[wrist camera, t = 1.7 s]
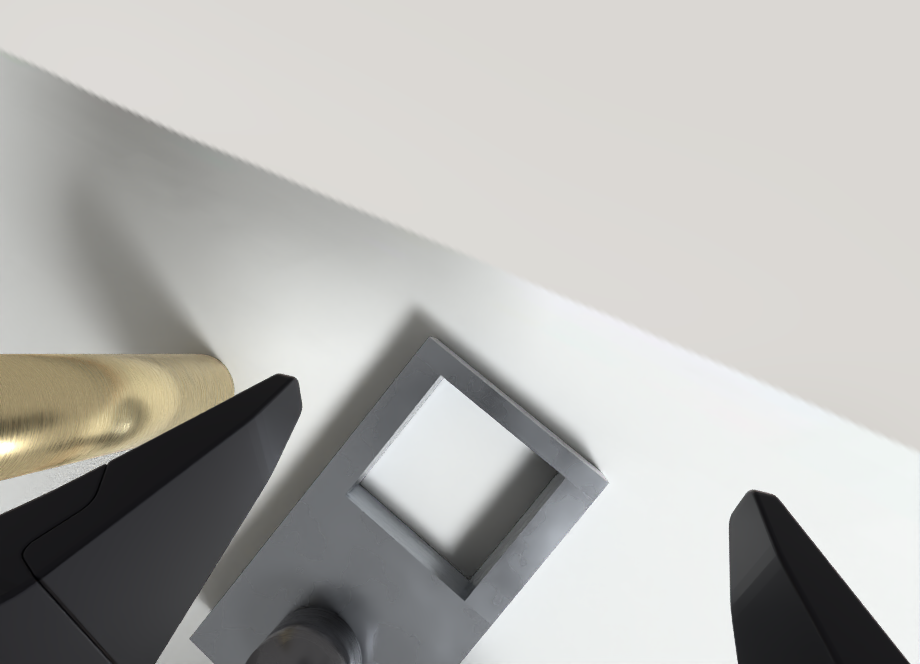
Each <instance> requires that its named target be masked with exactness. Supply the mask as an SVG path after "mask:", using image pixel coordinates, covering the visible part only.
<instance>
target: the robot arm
mask: <svg viewBox="0 0 920 664" xmlns="http://www.w3.org/2000/svg"><path fill="white" fill-rule="evenodd" d="M301 411H302V400H301V394H300V388H299V383H298V380H297V379H296V378H295V377H293V376H289V375H285V374H275V375H273V376H271V377H269V378H267V379H265V380H264V381H262V382H260V383H258V384H256V385H254V386H252V387H250V388H248V389H246V390H245V391H243V392H241V393H239V394H237V395H235V396H233V397H231V398H229V399H227V400H226V401H224V402H222V403H220V404H218V405H216V406H214V407H212V408H210V409H208V410H206V411H205V412H203V413H201V414H199V415H197V416H195V417H193V418H191V419H189V420H187V421H186V422H184V423H182V424H180V425H178V426H176V427H174V428H172V429H170V430H168V431H167V432H165V433H163V434H161V435H159V436H157V437H155V438H153V439H151V440H149V441H147V442H146V443H144V444H142V445H140V446H138V447H136V448H134V449H132V450H130V451H128V452H127V453H125V454H123V455H121V456H119V457H117V458H115V459H113V460H111V461H110V462H108V465H107V464H103V465H102V466H100V467H98V468H96V469H94V470H92V471H90V472H88V473H86V474H84V475H82V476H80V477H78V478H76V479H75V480H73V481H71V482H69V483H67V484H65V485H63V486H61V487H59V488H57V489H55V490H53V491H51V492H48V493H46V494H44V495H42V496H40V497H38V498H35V499H33V500H31V501H29V502H27V503H25V504H23V505H20V506H18V507H16V508H14V509H12V510H9V511H7V512H5V513H3V514H0V664H155V663H156V661H157V660H158V658H159V656H160V655H161V653H162V652H163V650H164V648H165V647H166V645H167V644H168V642H169V640H170V639H171V637H172V635H173V634H174V632H175V631H176V629H177V627H178V626H179V624H180V623H181V621H182V619H183V618H184V616H185V614H186V613H187V611H188V610H189V608H190V606H191V605H192V603H193V602H194V600H195V598H196V597H197V595H198V594H199V592H200V590H201V589H202V587H203V585H204V584H205V582H206V581H207V579H208V577H209V576H210V574H211V573H212V571H213V569H214V568H215V566H216V564H217V563H218V561H219V560H220V558H221V556H222V555H223V553H224V552H225V550H226V548H227V547H228V545H229V543H230V542H231V540H232V539H233V537H234V535H235V534H236V532H237V531H238V529H239V527H240V526H241V524H242V522H243V521H244V519H245V518H246V516H247V514H248V513H249V511H250V510H251V508H252V506H253V505H254V503H255V501H256V500H257V498H258V497H259V495H260V493H261V492H262V490H263V489H264V487H265V485H266V484H267V482H268V480H269V478H270V477H271V475H272V473H273V471H274V469H275V467H276V465H277V463H278V461H279V459H280V456H281V454H282V452H283V450H284V448H285V446H286V444H287V442H288V440H289V438H290V435H291V433H292V431H293V429H294V427H295V425H296V423H297V421H298V419H299V417H300V414H301ZM729 562H730V603H731V615H732V624H733V631H734V638H735V646H736V653H737V660H738V664H910V663H909V662H908V660H907V659H906V658H905V657H904V655H903V654H902V653H901V652H900V650H899V649H898V648H897V647H896V645H895V644H894V643H893V642H892V640H891V639H890V638H889V637H888V635H887V634H886V633H885V632H884V630H883V629H882V628H881V626H880V625H879V624H878V623H877V621H876V620H875V619H874V618H873V616H872V615H871V614H870V613H869V611H868V610H867V609H866V608H865V606H864V605H863V604H862V603H861V601H860V600H859V599H858V598H857V596H856V595H855V594H854V593H853V591H852V590H851V589H850V588H849V586H848V585H847V584H846V583H845V581H844V580H843V579H842V578H841V576H840V575H839V574H838V573H837V571H836V570H835V569H834V567H833V566H832V565H831V564H830V562H829V561H828V560H827V559H826V557H825V556H824V555H823V554H822V552H821V551H820V550H819V549H818V547H817V546H816V545H815V544H814V542H813V541H812V540H811V539H810V537H809V536H808V535H807V534H806V532H805V531H804V530H803V529H802V527H801V526H800V525H799V524H798V522H797V521H796V520H795V519H794V517H793V516H792V515H791V514H790V512H789V511H788V510H787V508H786V507H785V506H784V505H783V503H782V502H781V501H780V500H779V499H778V498H777V497H776V496H775V495H773V494H770V493H766V492H762V491H758V490H750V491H748V492H747V493H746V494H745V496H744V497H743V498H742V500H741V501H740V503H739V504H738V506H737V507H736V508H735V510H734V511H733V513H732V515H731V517H730V521H729Z"/></svg>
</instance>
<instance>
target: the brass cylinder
mask: <svg viewBox="0 0 920 664" xmlns="http://www.w3.org/2000/svg"><path fill="white" fill-rule="evenodd" d="M233 396H234V384H233V380H232V377H231V375H230V373H229V371H228V370H227V368H226V367H225V366H224V365H223V364H222V363H221V362H220V361H219V360H217V359H216V358H214V357H211V356H209V355H205V354H0V481H1V480H5V479H9V478H13V477H17V476H22V475H26V474H30V473H34V472H38V471H42V470H46V469H50V468H54V467H59V466H63V465H67V464H71V463H75V462H79V461H83V460H87V459H91V458H95V457H100V456H104V455H108V454H112V453H116V452H120V451H124V450H128V449H132V448H136V447H138V446H140V445H142V444H144V443H146V442H147V441H149V440H151V439H153V438H155V437H157V436H159V435H161V434H163V433H165V432H167V431H168V430H170V429H172V428H174V427H176V426H178V425H180V424H182V423H184V422H186V421H187V420H189V419H191V418H193V417H195V416H197V415H199V414H201V413H203V412H205V411H206V410H208V409H210V408H212V407H214V406H216V405H218V404H220V403H222V402H224V401H226V400H227V399H229V398H231V397H233Z"/></svg>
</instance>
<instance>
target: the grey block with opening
mask: <svg viewBox="0 0 920 664" xmlns="http://www.w3.org/2000/svg"><path fill="white" fill-rule="evenodd" d="M443 378H445V379H446V380H447V381H449V382H450V383H451V384H452V385H454V386H455V387H456V388H457V389H458V390H460V391H461V392H462V393H463V394H464V395H466V396H467V397H468V398H469V399H471V400H472V401H473V402H474V403H475V404H477V405H478V406H479V407H480V408H482V409H483V410H484V411H485V412H486V413H488V414H489V415H490V416H491V417H492V418H494V419H495V420H496V421H497V422H499V423H500V424H501V425H502V426H503V427H505V428H506V429H507V430H508V431H509V432H511V433H512V434H513V435H514V436H516V437H517V438H518V439H519V440H520V441H522V442H523V443H524V444H525V445H526V446H528V447H529V448H530V449H531V450H533V451H534V452H535V453H536V454H537V455H539V456H540V457H541V458H542V459H544V460H545V461H546V462H547V463H548V464H550V465H551V466H552V467H553V468H554V469H556V470H557V471H558V473H557V474H556V476H555V477H554V478H553V479H552V480H551V482H550V483H549V484H548V485H547V487H546V488H545V489H544V490H543V491H542V493H541V494H540V495H539V496H538V498H537V499H536V500H535V501H534V502H533V504H532V505H531V506H530V507H529V509H528V510H527V511H526V512H525V513H524V515H523V516H522V517H521V518H520V520H519V521H518V522H517V523H516V524H515V526H514V527H513V528H512V529H511V531H510V532H509V533H508V534H507V535H506V537H505V538H504V539H503V540H502V542H501V543H500V544H499V545H498V546H497V548H496V549H495V550H494V551H493V553H492V554H491V555H490V556H489V557H488V559H487V560H486V561H485V562H484V564H483V565H482V566H481V567H480V568H479V570H478V571H477V572H476V573H475V575H474V576H473V577H472V578H471V579H470V581H469V580H468V579H467V578H466V577H464V576H463V575H462V574H461V573H460V572H459V571H458V570H457V569H455V568H454V567H453V566H452V565H451V564H450V563H449V562H447V561H446V560H445V559H444V558H443V557H442V556H441V555H439V554H438V553H437V552H436V551H435V550H434V549H433V548H432V547H430V546H429V545H428V544H427V543H426V542H425V541H424V540H422V539H421V538H420V537H419V536H418V535H417V534H416V533H414V532H413V531H412V530H411V529H410V528H409V527H408V526H406V525H405V524H404V523H403V522H402V521H401V520H400V519H399V518H397V517H396V516H395V515H394V514H393V513H392V512H391V511H389V510H388V509H387V508H386V507H385V506H384V505H383V504H381V503H380V502H379V501H378V500H377V499H376V498H375V497H373V496H372V495H371V494H370V493H369V492H368V491H367V490H366V489H364V488H363V487H362V486H361V485H360V484H359V483H360V482H361V481H362V480H363V478H364V477H365V476H366V475H367V473H368V472H369V471H370V470H371V468H372V467H373V466H374V465H375V463H376V462H377V461H378V460H379V458H380V457H381V456H382V455H383V453H384V452H385V451H386V450H387V448H388V447H389V446H390V445H391V443H392V442H393V441H394V440H395V438H396V437H397V436H398V435H399V433H400V432H401V431H402V430H403V428H404V427H405V426H406V425H407V423H408V422H409V421H410V420H411V418H412V417H413V416H414V415H415V413H416V412H417V411H418V410H419V408H420V407H421V406H422V405H423V403H424V402H425V401H426V399H427V398H428V397H429V396H430V394H431V393H432V392H433V391H434V389H435V388H436V387H437V386H438V384H439V383H440V382H441V381H442V379H443ZM607 485H608V481H607V480H606V478H605V477H604V475H603V474H602V472H601V471H600V470H598V469H597V468H596V467H595V466H593V465H592V464H591V463H590V462H588V461H587V460H586V459H585V458H584V457H582V456H581V455H580V454H579V453H577V452H576V451H575V450H574V449H572V448H571V447H570V446H569V445H568V444H566V443H565V442H564V441H563V440H561V439H560V438H559V437H558V436H556V435H555V434H554V433H553V432H552V431H550V430H549V429H548V428H547V427H545V426H544V425H543V424H542V423H540V422H539V421H538V420H537V419H536V418H534V417H533V416H532V415H531V414H529V413H528V412H527V411H526V410H524V409H523V408H522V407H521V406H520V405H518V404H517V403H516V402H515V401H513V400H512V399H511V398H510V397H508V396H507V395H506V394H505V393H504V392H502V391H501V390H500V389H499V388H497V387H496V386H495V385H494V384H492V383H491V382H490V381H489V380H487V379H486V378H485V377H484V376H483V375H481V374H480V373H479V372H478V371H476V370H475V369H474V368H473V367H471V366H470V365H469V364H468V363H467V362H465V361H464V360H463V359H462V358H460V357H459V356H458V355H457V354H455V353H454V352H453V351H452V350H451V349H449V348H448V347H447V346H446V345H444V344H443V343H442V342H441V341H439V340H438V339H437V338H433V337H428V339H427V340H426V341H425V342H424V344H423V345H422V346H421V347H420V349H419V350H418V351H417V352H416V354H415V355H414V356H413V358H412V359H411V360H410V361H409V363H408V364H407V365H406V366H405V368H404V369H403V370H402V371H401V373H400V374H399V375H398V376H397V378H396V379H395V380H394V382H393V383H392V384H391V385H390V387H389V388H388V389H387V390H386V392H385V393H384V394H383V395H382V397H381V398H380V399H379V400H378V402H377V403H376V404H375V405H374V407H373V408H372V409H371V411H370V412H369V413H368V414H367V416H366V417H365V418H364V419H363V421H362V422H361V423H360V424H359V426H358V427H357V428H356V429H355V431H354V432H353V433H352V434H351V436H350V437H349V438H348V440H347V441H346V442H345V443H344V445H343V446H342V447H341V448H340V450H339V451H338V452H337V453H336V455H335V456H334V457H333V458H332V460H331V461H330V462H329V463H328V465H327V466H326V467H325V469H324V470H323V471H322V472H321V474H320V475H319V476H318V477H317V479H316V480H315V481H314V482H313V484H312V485H311V486H310V487H309V489H308V490H307V491H306V492H305V494H304V495H303V496H302V498H301V499H300V500H299V501H298V503H297V504H296V505H295V506H294V508H293V509H292V510H291V511H290V513H289V514H288V515H287V516H286V518H285V519H284V520H283V522H282V523H281V524H280V525H279V527H278V528H277V529H276V530H275V532H274V533H273V534H272V535H271V537H270V538H269V539H268V540H267V542H266V543H265V544H264V545H263V547H262V548H261V549H260V551H259V552H258V553H257V554H256V556H255V557H254V558H253V559H252V561H251V562H250V563H249V564H248V566H247V567H246V568H245V569H244V571H243V572H242V573H241V574H240V576H239V577H238V578H237V580H236V581H235V582H234V583H233V585H232V586H231V587H230V588H229V590H228V591H227V592H226V593H225V595H224V596H223V597H222V598H221V600H220V601H219V602H218V603H217V605H216V606H215V607H214V609H213V610H212V611H211V612H210V614H209V615H208V616H207V617H206V619H205V620H204V621H203V622H202V624H201V625H200V626H199V627H198V629H197V630H196V631H195V632H194V634H193V635H192V636H191V638H190V640H191V641H192V642H193V643H194V644H195V645H196V646H197V647H198V648H199V649H200V650H201V651H202V652H203V653H204V654H205V655H206V656H207V657H208V658H209V659H210V660H211V661H212V662H213V663H214V664H460V663H461V661H462V660H463V659H464V658H465V657H466V655H467V654H468V653H469V652H470V651H471V649H472V648H473V647H474V646H475V645H476V643H477V642H478V641H479V640H480V638H481V637H482V636H483V635H484V634H485V632H486V631H487V630H488V629H489V628H490V626H491V625H492V624H493V623H494V622H495V620H496V619H497V618H498V617H499V615H500V614H501V613H502V612H503V611H504V609H505V608H506V607H507V606H508V605H509V603H510V602H511V601H512V600H513V598H514V597H515V596H516V595H517V594H518V592H519V591H520V590H521V589H522V588H523V586H524V585H525V584H526V583H527V582H528V580H529V579H530V578H531V577H532V575H533V574H534V573H535V572H536V571H537V569H538V568H539V567H540V566H541V565H542V563H543V562H544V561H545V560H546V559H547V557H548V556H549V555H550V554H551V552H552V551H553V550H554V549H555V548H556V546H557V545H558V544H559V543H560V542H561V540H562V539H563V538H564V537H565V535H566V534H567V533H568V532H569V531H570V529H571V528H572V527H573V526H574V525H575V523H576V522H577V521H578V520H579V519H580V517H581V516H582V515H583V514H584V512H585V511H586V510H587V509H588V508H589V506H590V505H591V504H592V503H593V502H594V500H595V499H596V498H597V497H598V495H599V494H600V493H601V492H602V491H603V489H604V488H605V487H606V486H607Z"/></svg>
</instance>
